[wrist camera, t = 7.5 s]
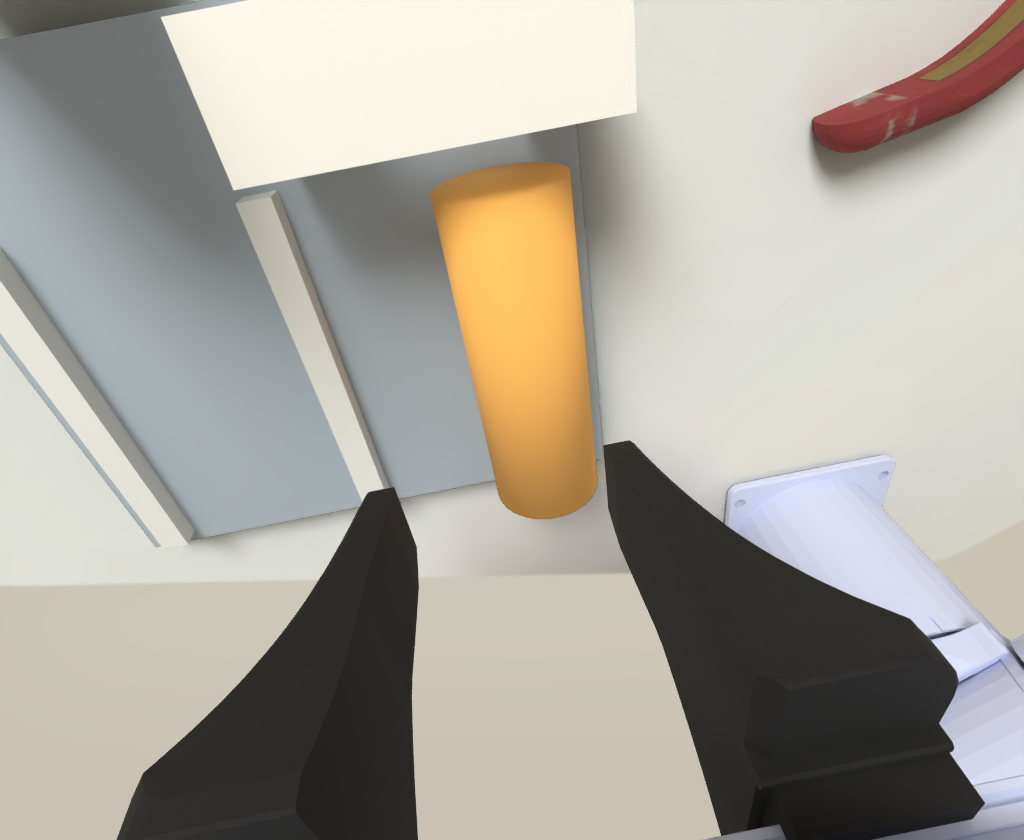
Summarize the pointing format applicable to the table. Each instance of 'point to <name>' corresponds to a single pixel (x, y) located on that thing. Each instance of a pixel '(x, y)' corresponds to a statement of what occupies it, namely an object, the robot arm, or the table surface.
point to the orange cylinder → (523, 329)
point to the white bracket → (396, 76)
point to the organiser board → (231, 296)
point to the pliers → (932, 87)
